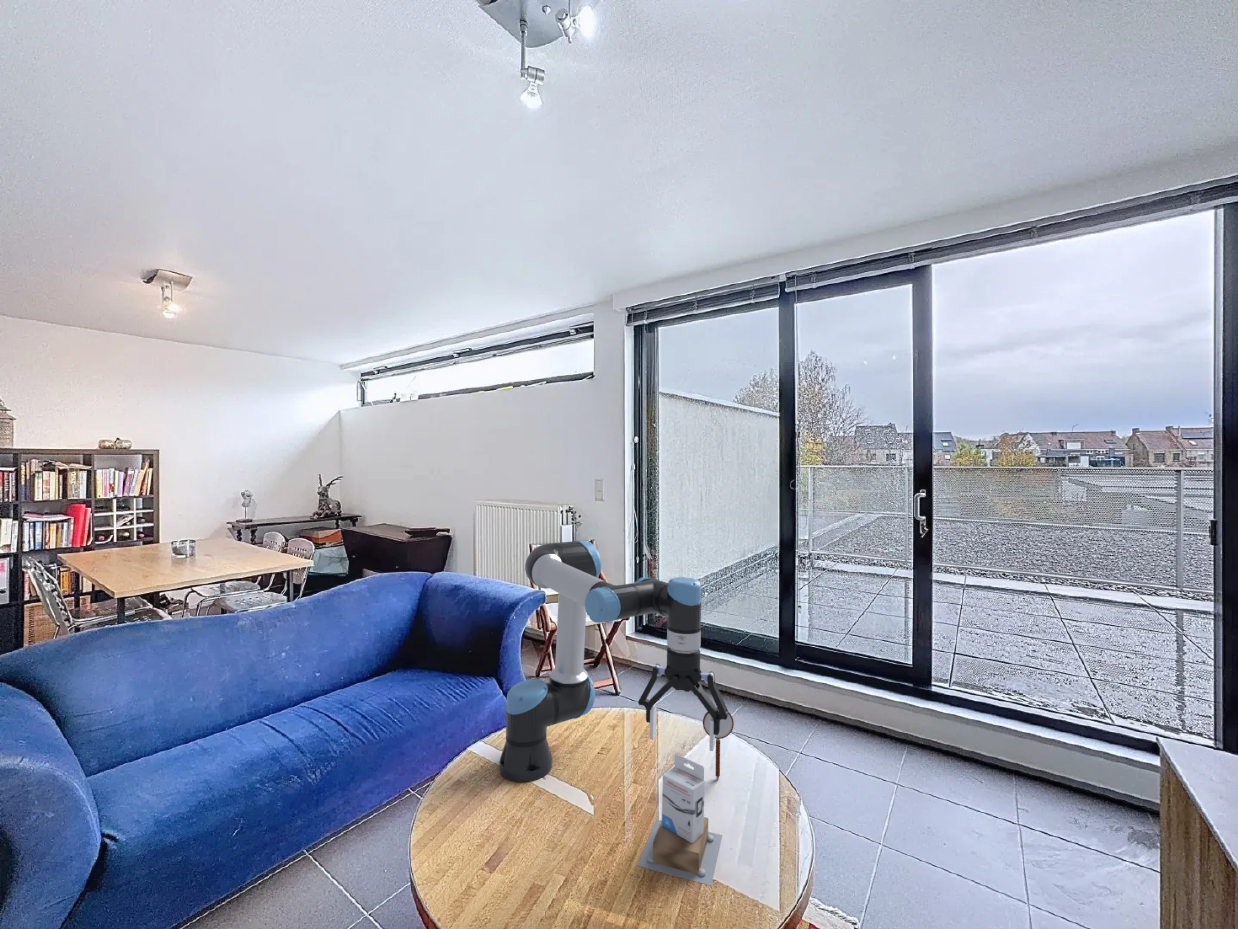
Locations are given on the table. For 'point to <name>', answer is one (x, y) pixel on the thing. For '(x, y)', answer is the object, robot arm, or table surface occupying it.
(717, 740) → the magnifying glass
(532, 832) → the table surface
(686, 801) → the ink box
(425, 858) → the table surface
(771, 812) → the table surface
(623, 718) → the table surface
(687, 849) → the base brick
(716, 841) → the plate
